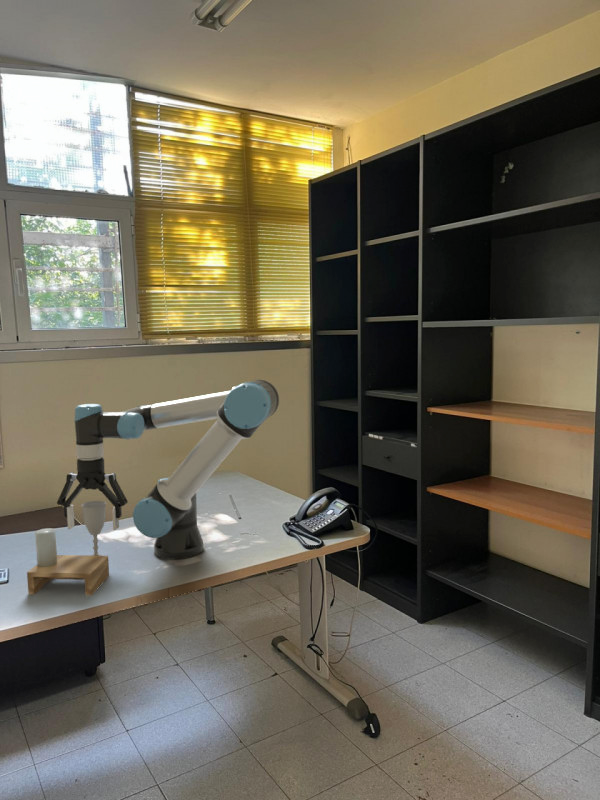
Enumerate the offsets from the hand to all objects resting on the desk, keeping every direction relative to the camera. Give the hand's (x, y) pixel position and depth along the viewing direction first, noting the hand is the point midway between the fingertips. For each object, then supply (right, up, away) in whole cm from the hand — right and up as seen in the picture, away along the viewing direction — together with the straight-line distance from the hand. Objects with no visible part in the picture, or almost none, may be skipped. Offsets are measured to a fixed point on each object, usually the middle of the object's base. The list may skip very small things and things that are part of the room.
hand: (93, 528), depth 174 cm
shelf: (-2, -13, -14) cm, 18 cm away
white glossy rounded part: (-8, -7, -14) cm, 17 cm away
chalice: (0, -11, +1) cm, 11 cm away
